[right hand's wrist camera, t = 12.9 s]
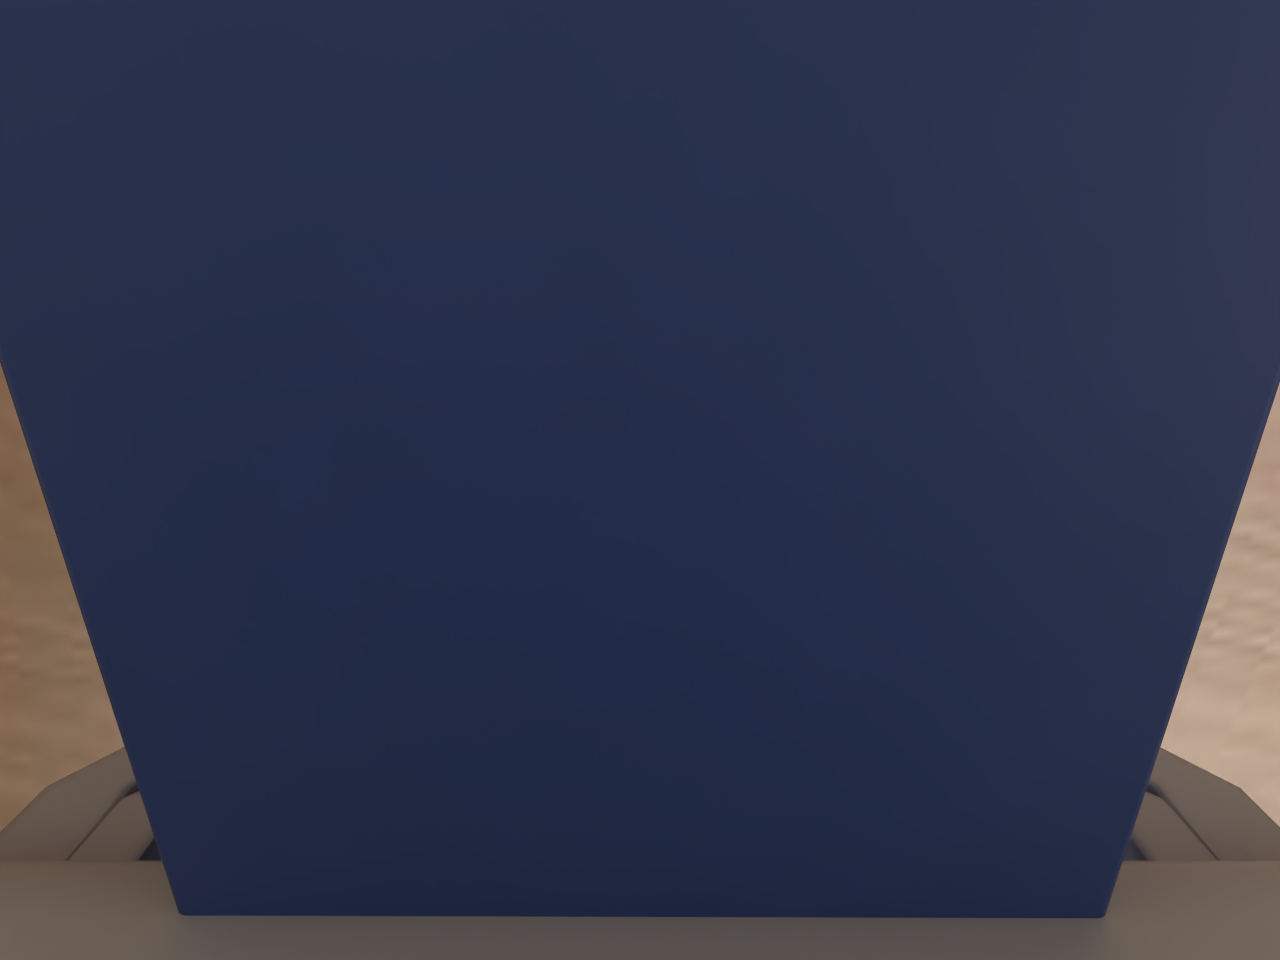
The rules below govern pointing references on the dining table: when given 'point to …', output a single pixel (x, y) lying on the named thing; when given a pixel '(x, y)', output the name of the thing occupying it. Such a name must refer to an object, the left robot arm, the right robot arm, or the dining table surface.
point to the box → (641, 433)
